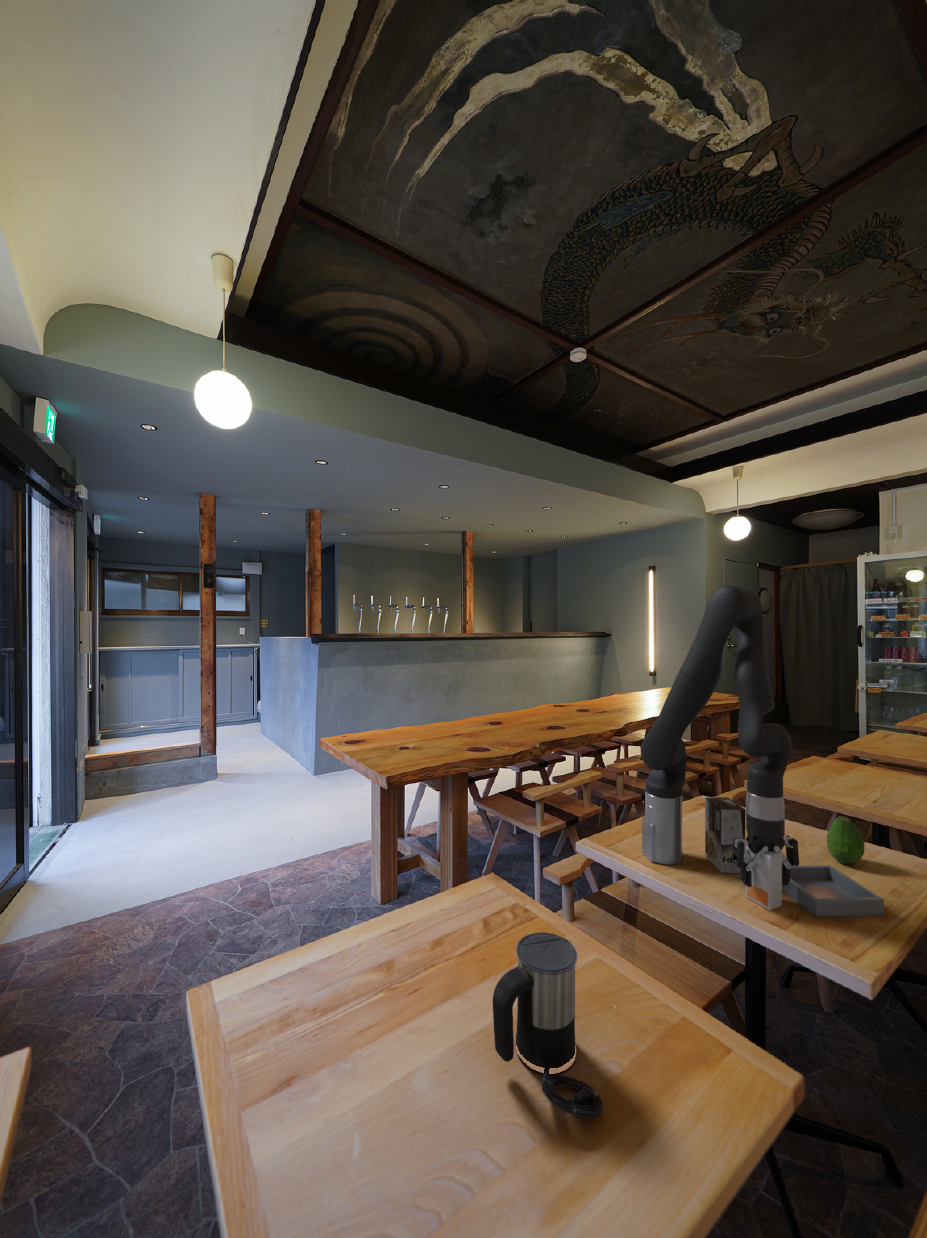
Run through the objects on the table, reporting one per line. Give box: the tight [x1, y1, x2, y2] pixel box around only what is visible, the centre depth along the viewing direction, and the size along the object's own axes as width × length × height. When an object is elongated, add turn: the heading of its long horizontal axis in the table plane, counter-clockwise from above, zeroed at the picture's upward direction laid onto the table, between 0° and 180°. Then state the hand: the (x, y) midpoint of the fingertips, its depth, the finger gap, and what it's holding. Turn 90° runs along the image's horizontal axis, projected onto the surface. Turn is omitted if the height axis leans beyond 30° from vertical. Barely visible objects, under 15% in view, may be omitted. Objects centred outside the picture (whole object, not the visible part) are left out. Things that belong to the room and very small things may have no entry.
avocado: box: [826, 816, 865, 865], centre depth 133 cm, size 8×8×12 cm
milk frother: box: [492, 931, 603, 1119], centre depth 72 cm, size 14×16×15 cm
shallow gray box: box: [782, 864, 884, 919], centre depth 117 cm, size 15×15×4 cm
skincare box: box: [744, 846, 783, 911], centre depth 115 cm, size 6×4×12 cm
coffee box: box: [704, 796, 746, 874], centre depth 132 cm, size 9×6×16 cm
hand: (765, 884), depth 115 cm, fingers open, 8 cm apart
